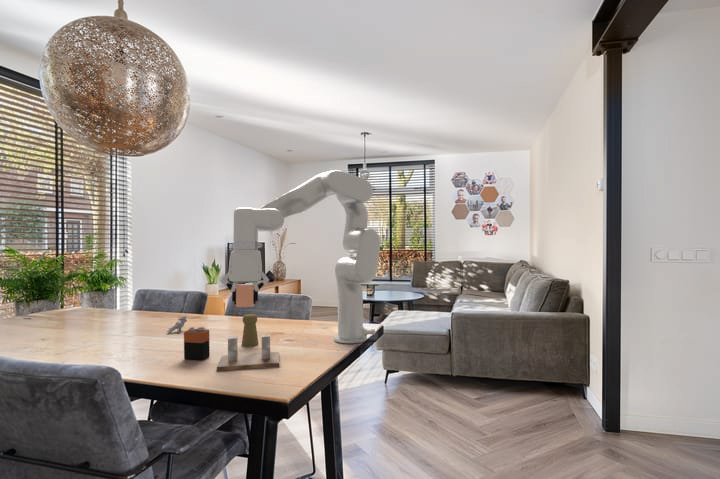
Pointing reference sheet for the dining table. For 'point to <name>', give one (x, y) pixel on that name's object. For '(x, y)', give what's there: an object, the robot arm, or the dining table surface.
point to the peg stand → (248, 357)
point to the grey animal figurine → (178, 324)
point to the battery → (196, 344)
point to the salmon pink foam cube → (244, 295)
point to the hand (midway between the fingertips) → (245, 303)
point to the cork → (250, 331)
